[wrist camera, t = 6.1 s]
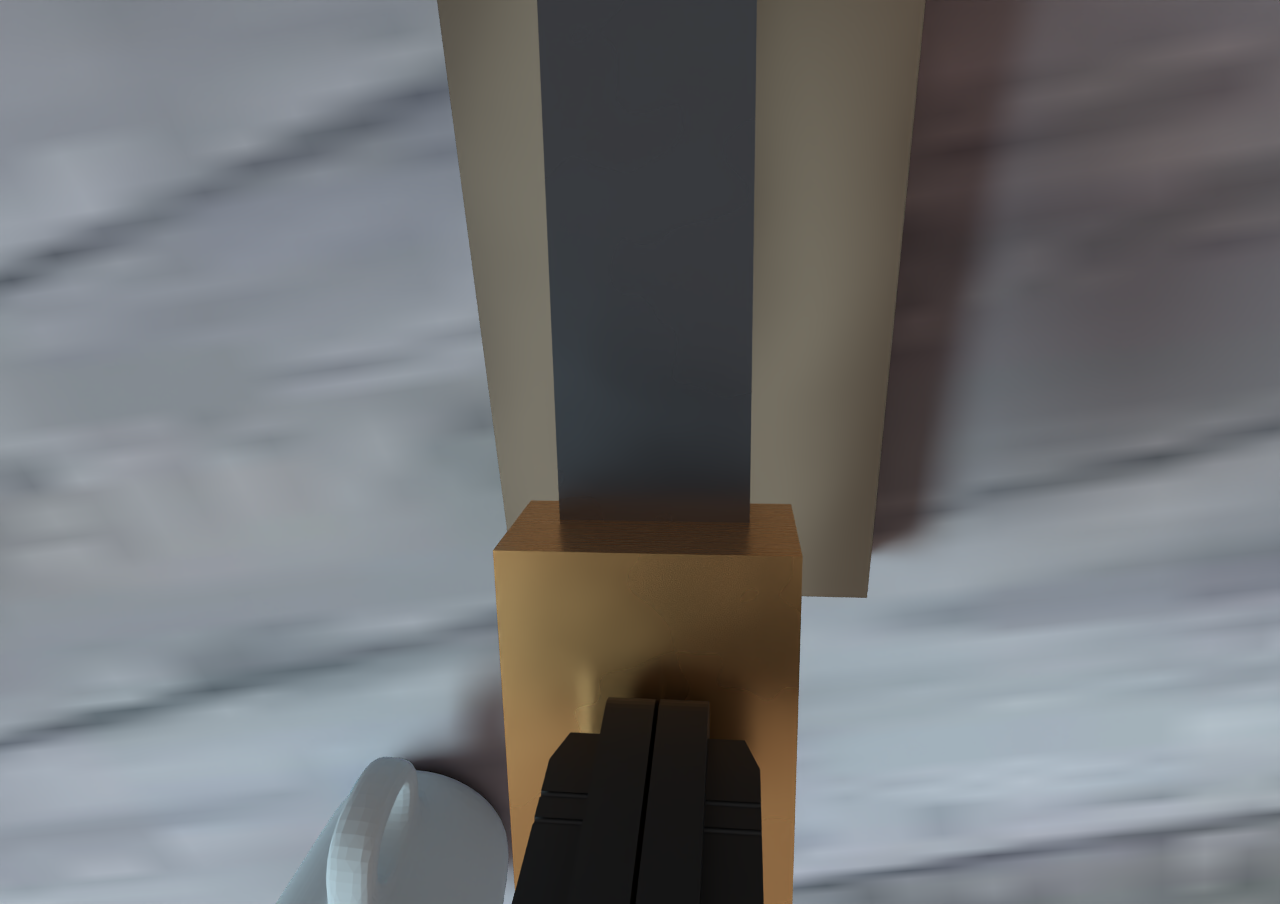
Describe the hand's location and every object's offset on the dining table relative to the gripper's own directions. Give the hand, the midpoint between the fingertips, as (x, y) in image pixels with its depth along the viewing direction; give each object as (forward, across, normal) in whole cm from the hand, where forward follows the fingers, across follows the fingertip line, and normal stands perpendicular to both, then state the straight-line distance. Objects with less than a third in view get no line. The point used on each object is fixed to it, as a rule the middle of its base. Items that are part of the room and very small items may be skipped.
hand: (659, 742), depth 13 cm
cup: (+13, +10, +16) cm, 23 cm away
